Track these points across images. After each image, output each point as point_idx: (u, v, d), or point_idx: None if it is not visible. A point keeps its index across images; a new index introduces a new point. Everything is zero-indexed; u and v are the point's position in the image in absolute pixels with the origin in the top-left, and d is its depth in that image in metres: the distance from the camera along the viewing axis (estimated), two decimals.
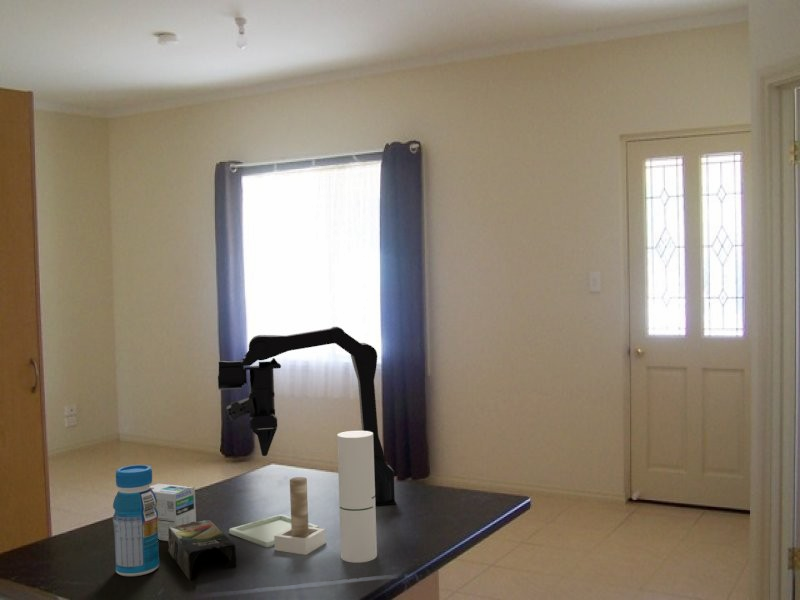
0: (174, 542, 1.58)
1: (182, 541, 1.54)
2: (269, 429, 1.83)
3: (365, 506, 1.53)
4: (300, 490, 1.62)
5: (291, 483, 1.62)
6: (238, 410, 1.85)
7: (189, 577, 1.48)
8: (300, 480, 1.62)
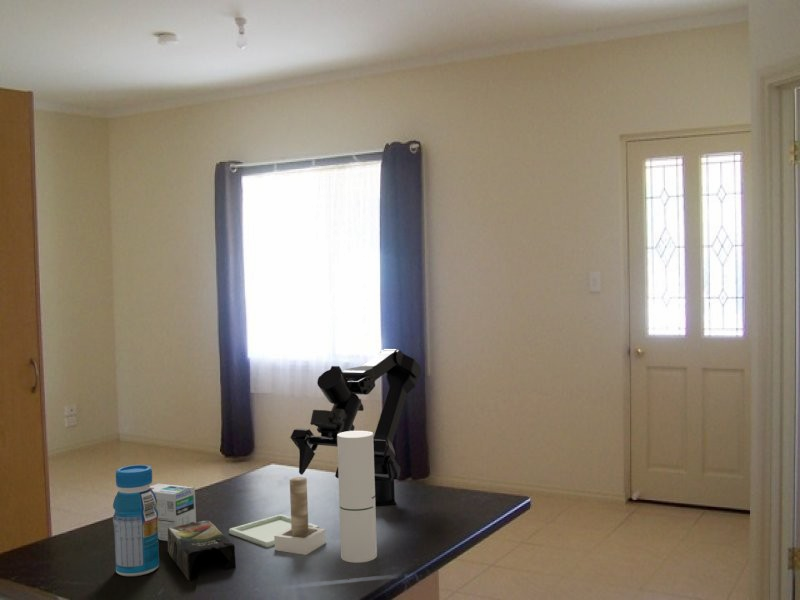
0: (173, 543, 1.58)
1: (181, 541, 1.54)
2: None
3: (365, 506, 1.53)
4: (300, 490, 1.62)
5: (291, 483, 1.62)
6: (342, 419, 1.72)
7: (188, 578, 1.48)
8: (300, 480, 1.62)
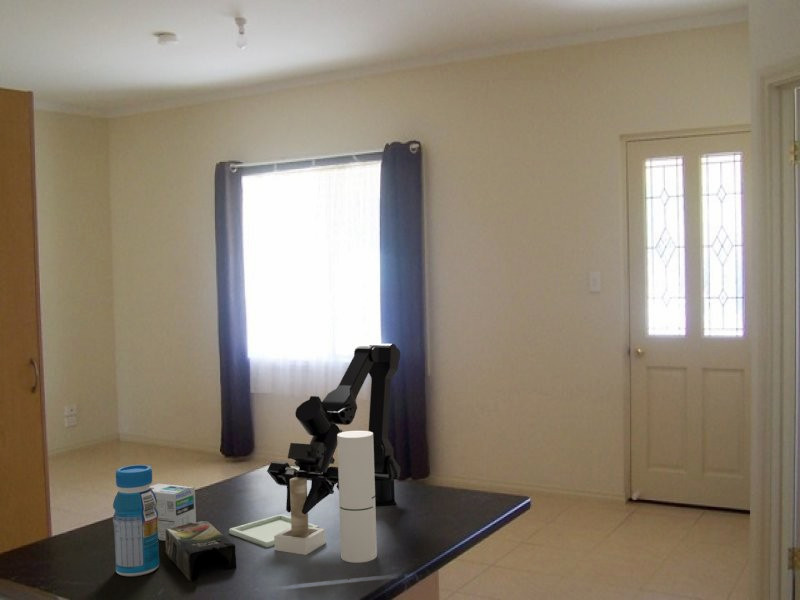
0: (172, 543, 1.58)
1: (181, 542, 1.54)
2: (331, 488, 1.65)
3: (365, 506, 1.53)
4: (300, 490, 1.61)
5: (291, 483, 1.62)
6: (321, 452, 1.63)
7: (189, 578, 1.48)
8: (300, 480, 1.62)
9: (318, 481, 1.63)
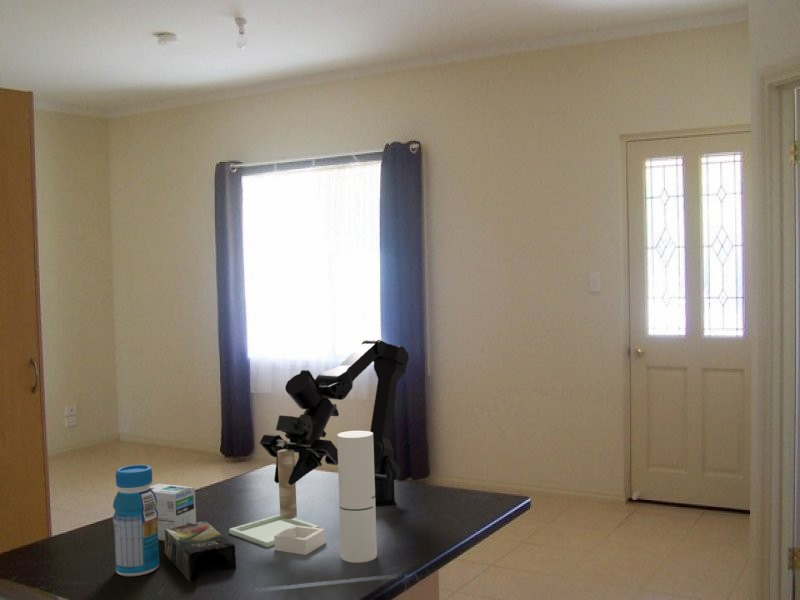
0: (172, 544, 1.57)
1: (181, 542, 1.53)
2: (318, 461, 1.67)
3: (365, 506, 1.53)
4: (286, 461, 1.65)
5: (278, 454, 1.65)
6: (307, 425, 1.66)
7: (189, 578, 1.48)
8: (287, 452, 1.65)
9: (304, 453, 1.65)
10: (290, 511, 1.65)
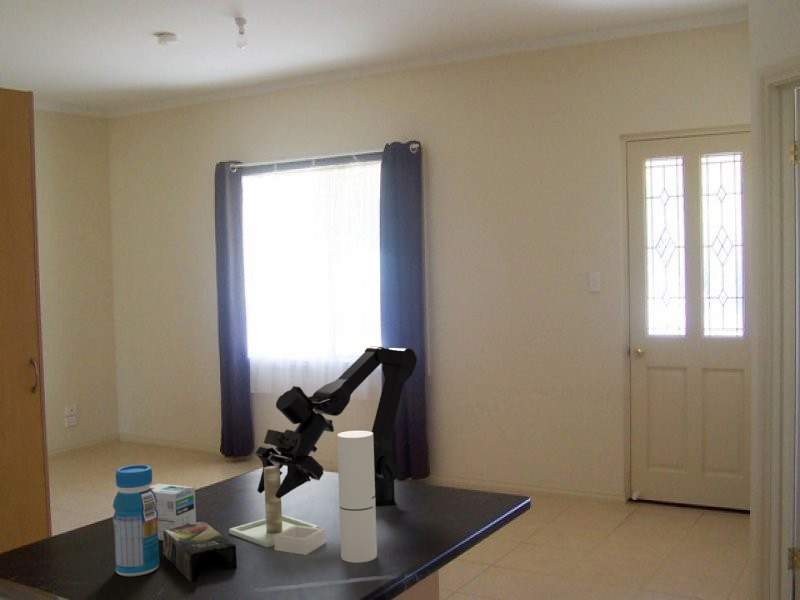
0: (171, 544, 1.57)
1: (181, 543, 1.53)
2: (307, 476, 1.71)
3: (365, 506, 1.53)
4: (270, 478, 1.71)
5: (264, 471, 1.72)
6: (291, 440, 1.71)
7: (190, 579, 1.47)
8: (272, 469, 1.72)
9: (292, 468, 1.70)
10: (274, 526, 1.72)
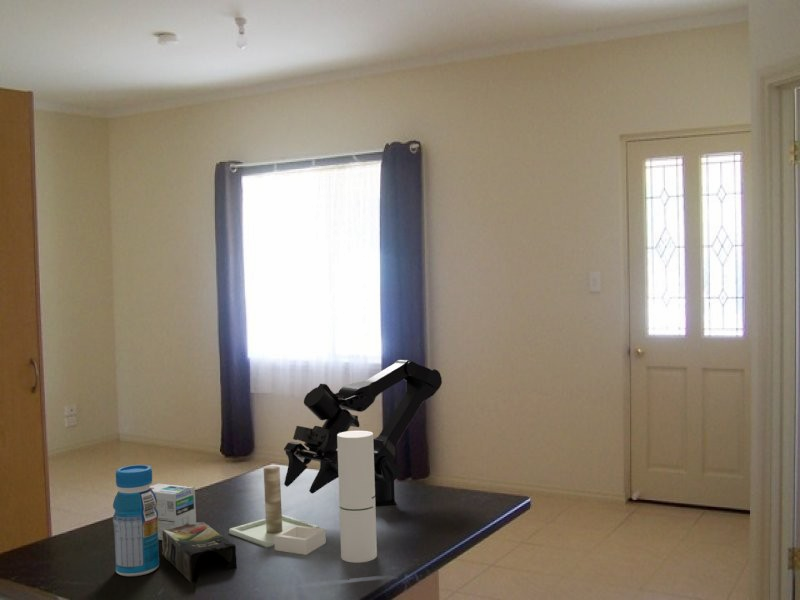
0: (170, 545, 1.57)
1: (180, 543, 1.53)
2: None
3: (365, 506, 1.53)
4: (270, 478, 1.71)
5: (264, 471, 1.72)
6: (320, 436, 1.77)
7: (190, 579, 1.47)
8: (271, 469, 1.72)
9: (325, 464, 1.75)
10: (274, 526, 1.72)
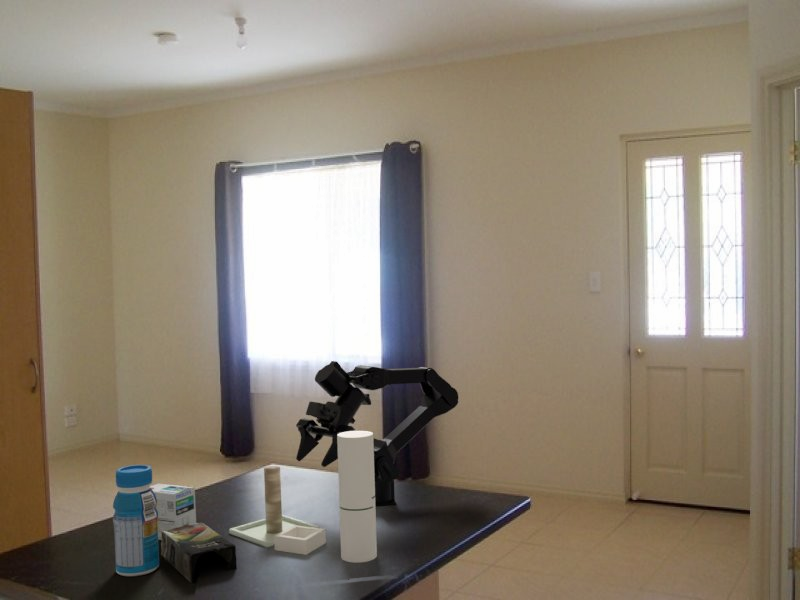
0: (170, 545, 1.56)
1: (180, 544, 1.53)
2: None
3: (365, 506, 1.53)
4: (270, 478, 1.71)
5: (264, 471, 1.72)
6: (332, 411, 1.81)
7: (190, 580, 1.47)
8: (272, 469, 1.72)
9: None
10: (274, 526, 1.72)
